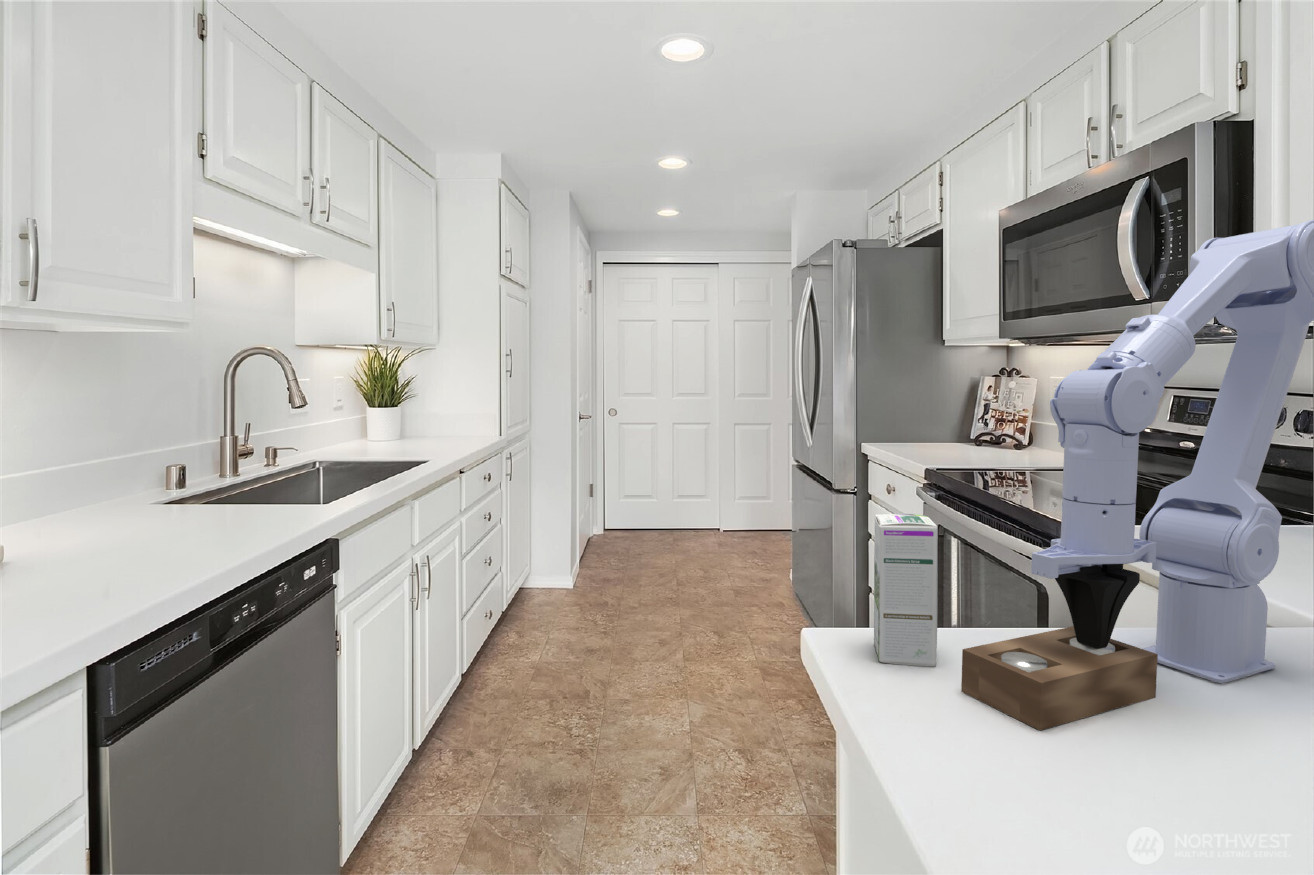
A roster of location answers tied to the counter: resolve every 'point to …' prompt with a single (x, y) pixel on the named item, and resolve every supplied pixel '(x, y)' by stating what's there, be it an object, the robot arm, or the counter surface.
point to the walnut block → (1058, 678)
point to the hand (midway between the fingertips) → (1091, 644)
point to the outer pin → (1024, 661)
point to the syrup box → (905, 589)
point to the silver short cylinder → (1101, 651)
